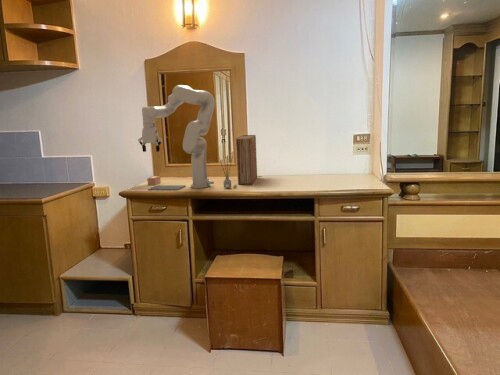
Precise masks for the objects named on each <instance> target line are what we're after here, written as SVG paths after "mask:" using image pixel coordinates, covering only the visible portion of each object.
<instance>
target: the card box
mask: <svg viewBox="0 0 500 375" xmlns="http://www.w3.org/2000/svg"><path fill="white" fill-rule="evenodd" d="M161 183H162V182H161V176H160V175H158V176H157V175H152V176H150V177H147V186H157V185H160V184H161Z"/></svg>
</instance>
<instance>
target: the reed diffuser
mask: <svg viewBox="0 0 500 375" xmlns="http://www.w3.org/2000/svg"><path fill="white" fill-rule="evenodd" d="M231 158H234V157H233V155H232V156H231ZM218 159H219V162H220V164H221V167H222V170H223V172H224V175H225V176H224V177H225V179H224V180H223V188H226V189H227V188H232V187H233V189H237V188H238V185H237V184H236V183H235V184H234V185H233V186H232V180H231V179H230V177H229V175H230V173H229V172H230V170H231V168H229V167H232V166H231V165H232V161H233V159H231V160H230V163H229V162H228V159H229V158H228V155H227V156H226V160H227V161H226V160H225V159H223V161H224V163H222V161H221V159H220V157H218ZM228 163H229V164H228ZM223 164H226V165H224V167H225V169H224V167H223ZM228 165H229V167H228ZM228 168H229V170H228ZM225 170H226V171H225Z"/></svg>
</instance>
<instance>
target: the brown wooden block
mask: <svg viewBox="0 0 500 375" xmlns="http://www.w3.org/2000/svg"><path fill="white" fill-rule="evenodd" d="M256 135H257V134H251V135H249V134H245V135H240V136H237V137H235V146H236V165H237V184H238V185H239V186H240V185H243V184H244V185H247V184H248V185H250V184H251V185H253V184H254V183H255V182H256V180H257V179H258V166H257V164H258V163H257V138H256ZM238 185H237V186H238Z"/></svg>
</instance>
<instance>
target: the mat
mask: <svg viewBox="0 0 500 375" xmlns="http://www.w3.org/2000/svg"><path fill="white" fill-rule="evenodd" d="M184 188H186V185H185V184H184V185H176V184H175V185H171V184H169V185H168V184H167V185H164V184H163V185H162V184H161V185H160V184H158V185H153V186H152V187H150V188H148V191H179V190H181V189H184Z"/></svg>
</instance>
